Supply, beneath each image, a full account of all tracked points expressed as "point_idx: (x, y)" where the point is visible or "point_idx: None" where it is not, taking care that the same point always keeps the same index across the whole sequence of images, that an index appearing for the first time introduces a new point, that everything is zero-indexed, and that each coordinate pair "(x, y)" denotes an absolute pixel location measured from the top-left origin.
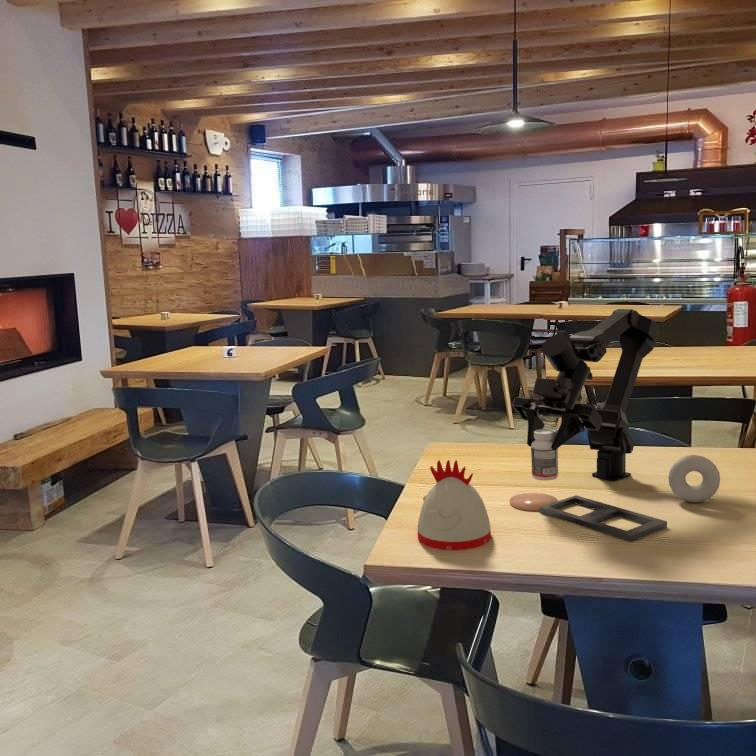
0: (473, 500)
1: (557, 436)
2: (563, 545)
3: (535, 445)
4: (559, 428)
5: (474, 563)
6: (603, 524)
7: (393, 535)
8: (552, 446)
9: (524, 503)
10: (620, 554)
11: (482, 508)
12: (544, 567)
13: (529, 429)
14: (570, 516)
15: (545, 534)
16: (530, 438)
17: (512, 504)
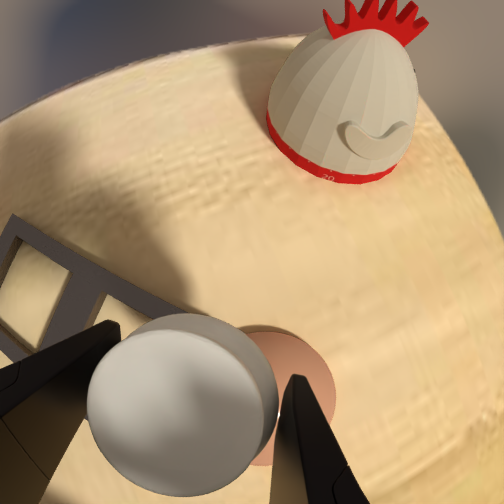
0: (300, 45)
1: (55, 354)
2: (123, 152)
3: (225, 327)
4: (18, 393)
5: (248, 54)
6: (50, 252)
7: (420, 108)
8: (109, 324)
9: (281, 365)
10: (38, 161)
11: (285, 73)
12: (144, 75)
13: (329, 455)
14: (121, 280)
15: (166, 188)
16: (291, 399)
17: (312, 348)
